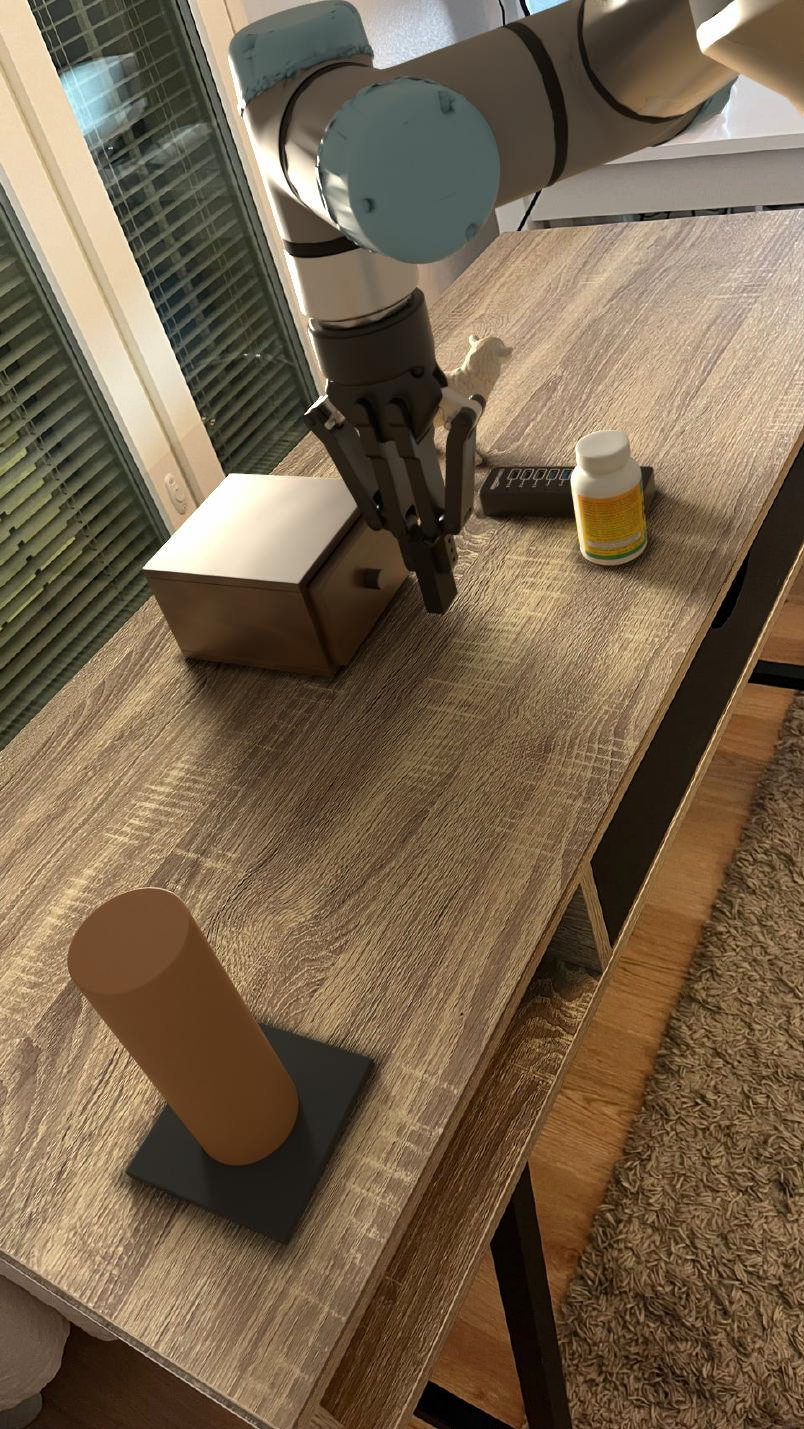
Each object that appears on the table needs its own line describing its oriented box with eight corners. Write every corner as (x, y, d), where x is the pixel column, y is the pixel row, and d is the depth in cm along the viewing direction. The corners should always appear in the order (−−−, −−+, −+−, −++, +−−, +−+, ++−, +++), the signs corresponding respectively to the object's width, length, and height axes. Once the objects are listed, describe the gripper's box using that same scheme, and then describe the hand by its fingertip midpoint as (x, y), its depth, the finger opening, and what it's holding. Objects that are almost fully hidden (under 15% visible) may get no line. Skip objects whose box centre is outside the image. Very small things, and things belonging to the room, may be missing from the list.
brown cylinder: (317, 1081, 57) (213, 901, 47) (265, 1180, 54) (141, 1010, 43) (232, 1052, 60) (116, 875, 49) (178, 1145, 56) (41, 976, 46)
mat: (375, 1063, 58) (372, 1058, 58) (287, 1245, 52) (283, 1240, 52) (226, 1015, 62) (222, 1009, 62) (128, 1177, 56) (124, 1172, 56)
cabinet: (405, 571, 91) (379, 479, 85) (332, 678, 83) (298, 584, 77) (263, 559, 98) (230, 473, 92) (183, 657, 90) (141, 569, 84)
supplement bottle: (570, 543, 88) (554, 440, 82) (629, 521, 89) (618, 416, 83) (598, 576, 84) (583, 470, 78) (660, 552, 85) (650, 445, 78)
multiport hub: (644, 518, 89) (642, 495, 87) (481, 515, 95) (476, 493, 93) (656, 489, 91) (654, 465, 90) (496, 487, 97) (492, 465, 96)
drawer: (425, 569, 89) (405, 494, 84) (359, 667, 82) (333, 591, 77) (278, 557, 96) (252, 487, 91) (205, 647, 88) (172, 576, 83)
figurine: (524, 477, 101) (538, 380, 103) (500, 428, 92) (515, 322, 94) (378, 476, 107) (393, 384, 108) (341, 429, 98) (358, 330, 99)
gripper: (482, 269, 65) (539, 579, 81) (302, 281, 71) (387, 567, 87) (434, 326, 61) (504, 643, 76) (246, 333, 67) (347, 626, 82)
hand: (442, 602), depth 82 cm, fingers closed
